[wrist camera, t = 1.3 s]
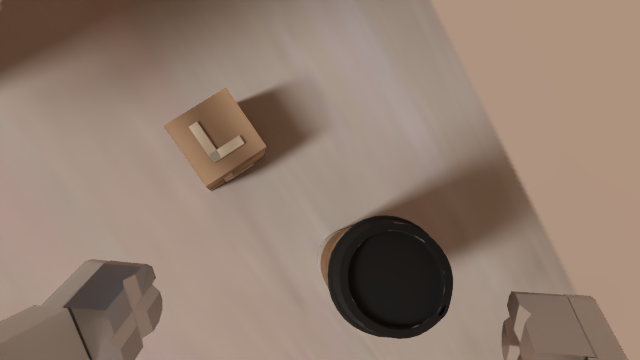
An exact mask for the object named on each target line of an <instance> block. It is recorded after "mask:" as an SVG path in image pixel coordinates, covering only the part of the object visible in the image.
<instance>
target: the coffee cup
mask: <svg viewBox="0 0 640 360" xmlns="http://www.w3.org/2000/svg"><path fill="white" fill-rule="evenodd" d="M318 267H319V271H320V273H321V275H322V277H323V279H324V280H325V282H326V284H327V286H328V288H329V291H330V295H331V298H332V300H333V302H334V304H335V306H336V308H337V310H338V311H339V313H340V314H341V315H342V316H343V318H344V319H345V320H346V321H347V322H349V323H350V324H351V325H352V326H353V327H355V328H357V329H359V330H361V331H363V332H365V333H368V334H371V335H375V336H378V337H389V338H390V337H391V338H398V339H401V338H411V337H415V336H418V335H420V334H422V333H424V332H426V331H428V330H429V329H430V328H432V327H433V326H434V325H436V324H437V323H438V322H439V321H440V320H441V319H442V318H443V317H444V316H445V315H446V313H447V311H448V308H449V305H450V301H451V296H452V290H453V275H452V270H451V266H450V264H449V261H448V259H447V257H446V255H445V254H444V252H443V250H442V249H441V248H440V246H439V245H438V244H437V243H436V242H435V241H434V240H433V239H432V238H431V237H430V236H429V235H428V234H427V233H426V232H425V231H424V230H422V229H421V228H420V227H419V226H417V225H415V224H414V223H412V222H410V221H408V220H405V219H402V218H399V217H394V216H374V217H371V218H368V219H365V220H363V221H361V222H359V223H357V224H355V225H354V226H351V227H348V228H345V229H343V230H339V231H336V232H334V233H333V234H331V235H330V236H328V237H327V238H326V239H325V240H324V242H323V243H322V245H321V247H320V249H319V253H318Z"/></svg>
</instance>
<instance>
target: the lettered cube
mask: <svg viewBox="0 0 640 360" xmlns="http://www.w3.org/2000/svg"><path fill="white" fill-rule="evenodd" d="M164 127H165V129H166V130H167V132H168V133H169V134H170V136H171V137H172V139H173V140H174V142H175V143H176V145H177V146H178V147H179V149H180V150H181V152H182V153H183V155H184V156H185V158H186V159H187V160H188V162H189V163H190V165H191V166H192V168H193V169H194V171H195V172H196V173H197V175H198V176H199V178H200V179H201V181H202V182H203V184H204V185H205V186H206V187H207V188H208V189H209V190H211V191H212V190H214V189H215V188H217V187H218V186H220V185H221V184H223V183H224V182H226V183H227V182H228V181H230V180H231V179H233V178H234V177H236V176H237V175H239V174H240V173H242V172H243V171H245V170H246V169H248V168H250V167H251V166H253V165H254V163H255V162H256V161H258V160H259V159H261V158H262V157H264V154H265V151H266V147H267V146H266V145H265V144H264V142H263V141H262V139H261V138H260V136H259V135H258V133H257V132H256V130H255V129H254V128H253V126H252V125H251V123H250V122H249V120H248V119H247V117H246V116H245V114H244V113H243V112H242V110H241V109H240V107H239V106H238V104H237V103H236V101H235V100H234V98H233V97H232V96H231V94H230V93H229V91H228V90H227V88H224V89H223V90H221V91H220V92H218V93H216V94H215V95H213V96H211V97H210V98H208V99H207V100H205V101H203V102H202V103H200V104H198V105H197V106H195V107H194V108H192V109H190V110H189V111H187V112H185V113H184V114H182V115H180V116H179V117H177V118H176V119H174V120H172V121H171V122H169V123H167V124H166V125H164Z"/></svg>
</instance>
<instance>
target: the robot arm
mask: <svg viewBox="0 0 640 360" xmlns="http://www.w3.org/2000/svg"><path fill="white" fill-rule="evenodd" d="M155 278H156V276H155V273H154V271H153V268H152V266H149V265H147V264H139V263H129V262H119V261H105V260H95V259H91V260H88V261H85V262H84V263H83V264H82V265H81V266H80V267H79V268H78V269H77V270H76V271H75V272H74V273H73V274H72V275H71V276H70V277H69V278H68V279H67V280H66V281H65V282H64V283H63V284H62V285H61V286H60V287H59V288H58V289H57V290H56V291H55V292H54V293H53V294H52V295H51V296H50V297H49V298H48V299H47V300H46V301H45V302H44V303H43V304H42V305H41V306H40V305H34V306H32V307H30V308H28V309H26V310H24V311H22V312H20V313H17V314H15V315H13V316H11V317H9V318H7V319H5V320H3V321H1V322H0V360H135V359H136V357H137V356H138V354H139V352H140V351H141V349H142V348H143V341H142V338H143V337H145V336H147V335H148V334H150V333H151V332H153V331H154V329H155V327H156V326H157V324H158V322H159V320H160V316H161V312H162V297H161V294H160V292H159V291H158V290H157V289H156V288H155V287H154V286H153V285H152V284H153V282H154V280H155ZM507 307H508V311H509V314H510V317H509V318H508V319H506V320H505V321H504V323H503V329H502V353H503V359H504V360H628V359H627V357H626V355H625V353H624V351H623V349H622V348H621V346H620V344H619V342H618V340H617V338H616V337H615V335H614V333H613V331H612V329H611V328H610V326H609V324H608V322H607V320H606V318H605V317H604V315H603V313H602V311H601V309H600V308H599V306H598V304H597V302H596V300H595V299H594V298H592V297H591V296H582V295H565V294H564V295H558V294H543V293H528V292H513V291H512V292H511V294H510V296H509V299H508V304H507Z"/></svg>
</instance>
